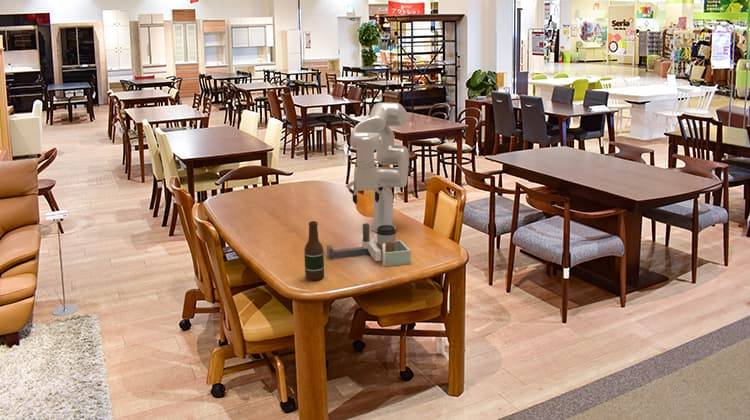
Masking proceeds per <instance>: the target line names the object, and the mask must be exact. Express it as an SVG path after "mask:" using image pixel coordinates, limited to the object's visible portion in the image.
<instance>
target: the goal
mask: <svg viewBox="0 0 750 420" xmlns="http://www.w3.org/2000/svg"><path fill="white" fill-rule="evenodd" d="M373 239H374V243H375V244H376V245H377V247H378V237H377V233H373ZM411 253H412V252H411V249H410V248H409V247H408V246H407V245H406V243H404V242H403V241H402V240H398V239H397V240H395V250H394V252H385V244H383V262H382V267H383V268H385V267H393V266H402V264H403V265H409V263H411V257H412V256H411Z"/></svg>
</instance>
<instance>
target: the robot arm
mask: <svg viewBox="0 0 750 420" xmlns="http://www.w3.org/2000/svg"><path fill="white" fill-rule="evenodd" d="M407 121H408V112H407V110H406V109H405V107H404V106H403V105H402V104H401V103H398V102H377V103H375V104H374V105H373V106H372V108H371V110H370V113H369V115H368V118H366V119H364V120H363V121H361V122H358V123H356V125H355V126H354V128H353V129H352V132H351V134H350V137H349V144H350V147H351V148H352V149H354V150H356V166H355V167H354V174H353V181H350V182H349V183H348V184H346V185H345V186H346V189H347V190H348V192H349V193H350V194H352V202H353V203H354V205H357V204H358V195H357V194H358V192H361V191H373V224H372V225H371V226H370V230H371V231H372V232H375V233H377V229H378V227H379V226H382V225H391V226H394V227H395V230H396V231H397V226H396V225H395V224H394V194H393V191H392V190H391V189H390V188H404V187H406V186H407V184H408V175H409V163H410V162H409V161H410V159H409V157H410V155H409V154H410V153H409V149H408V148H407V147H406V146H404V145H395V137H396V136H395V133H394V132H393V130H392V129H391V127H404V126H406V125H407ZM375 153H376V154H375ZM375 155H376V157H375ZM375 159H376V160H375ZM378 164H379V165H387V166H379V167H376V165H378ZM388 165H392V166H398V167H392V166H388ZM352 186H353V189H352V188H351V187H352Z"/></svg>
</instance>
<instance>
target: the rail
mask: <svg viewBox="0 0 750 420" xmlns="http://www.w3.org/2000/svg"><path fill="white" fill-rule="evenodd" d="M326 253H327V254H326V256H327V258H328V259H329V261H330V260H332V261H333V260H334V259H340V258H342V259H343V258H351V257H352V258H353V257H363V256H371V254H370V253H369V252H368V249H364V248H363V247H362V246H360V247H349V248H339V249H338V248H337V249H334V248H333V247H332V245H331V244H327V245H326Z"/></svg>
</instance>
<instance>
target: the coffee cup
mask: <svg viewBox="0 0 750 420" xmlns="http://www.w3.org/2000/svg"><path fill="white" fill-rule="evenodd" d="M396 231H397V229H396V230H395V227H394V226H391V225H382V226H379V227H378V229H377V232H376V234H377V242H378V248H379V249H380V250H381V261H380V262H382V263H383V244H385V252H394V250H395V241H396V233H397V232H396Z"/></svg>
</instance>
